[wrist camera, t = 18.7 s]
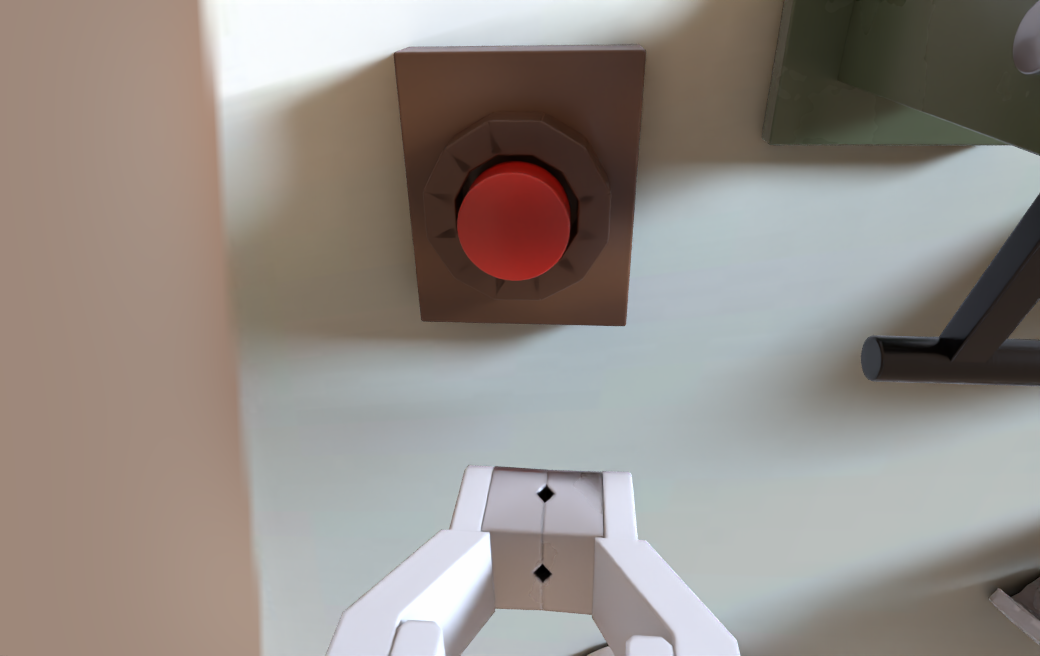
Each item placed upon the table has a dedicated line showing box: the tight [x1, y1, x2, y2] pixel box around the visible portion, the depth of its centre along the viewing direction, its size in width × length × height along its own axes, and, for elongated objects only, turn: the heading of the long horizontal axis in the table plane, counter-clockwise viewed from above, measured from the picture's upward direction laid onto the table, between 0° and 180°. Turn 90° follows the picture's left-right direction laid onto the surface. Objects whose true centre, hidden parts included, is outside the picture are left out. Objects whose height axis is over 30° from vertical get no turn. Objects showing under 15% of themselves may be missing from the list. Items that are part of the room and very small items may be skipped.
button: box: [457, 161, 571, 281], centre depth 23 cm, size 4×4×2 cm
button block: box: [394, 44, 646, 326], centre depth 25 cm, size 11×9×4 cm
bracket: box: [762, 0, 1040, 156], centre depth 16 cm, size 9×9×14 cm
